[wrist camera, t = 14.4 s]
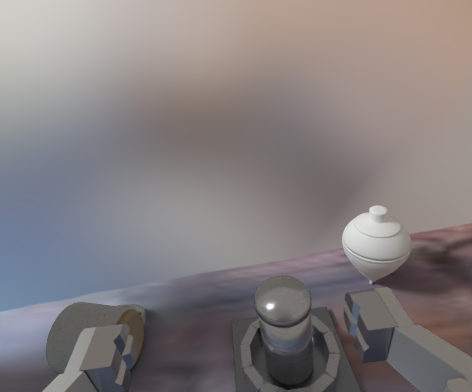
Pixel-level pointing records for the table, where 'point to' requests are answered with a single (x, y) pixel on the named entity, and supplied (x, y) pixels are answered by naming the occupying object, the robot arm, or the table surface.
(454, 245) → the table surface
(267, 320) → the lidded canister
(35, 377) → the table surface
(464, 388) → the robot arm
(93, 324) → the ceramic mug
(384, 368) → the table surface
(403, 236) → the spinning top
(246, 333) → the duct flange
